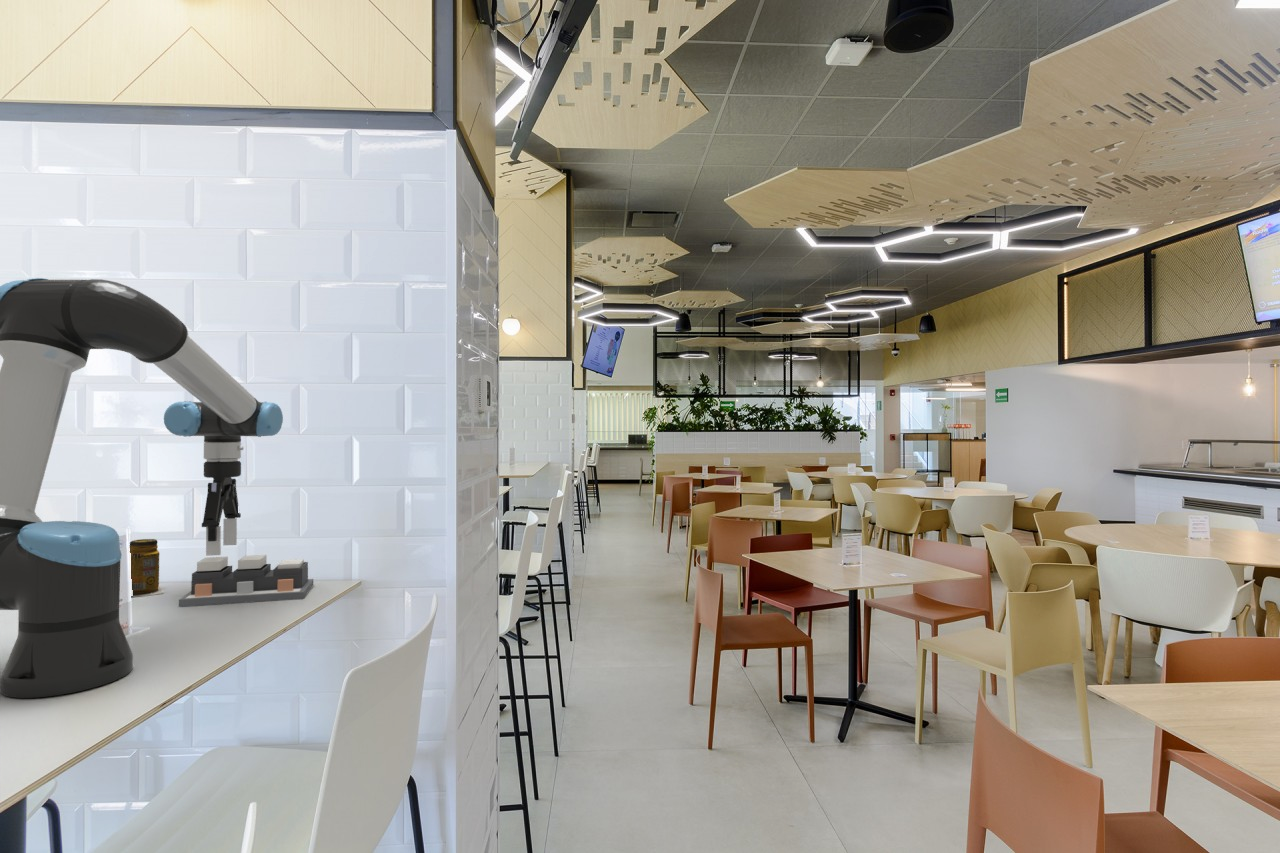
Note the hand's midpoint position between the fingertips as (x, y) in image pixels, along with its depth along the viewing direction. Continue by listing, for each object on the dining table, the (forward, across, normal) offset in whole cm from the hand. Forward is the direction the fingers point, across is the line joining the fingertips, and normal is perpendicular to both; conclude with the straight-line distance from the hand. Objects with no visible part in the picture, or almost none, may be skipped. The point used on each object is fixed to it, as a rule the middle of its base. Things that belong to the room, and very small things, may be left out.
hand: (222, 550), depth 159 cm
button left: (+3, -7, 0) cm, 8 cm away
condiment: (+10, +1, +16) cm, 19 cm away
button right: (+4, -7, -16) cm, 18 cm away
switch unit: (+9, -9, -8) cm, 15 cm away
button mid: (+3, -7, -8) cm, 11 cm away
